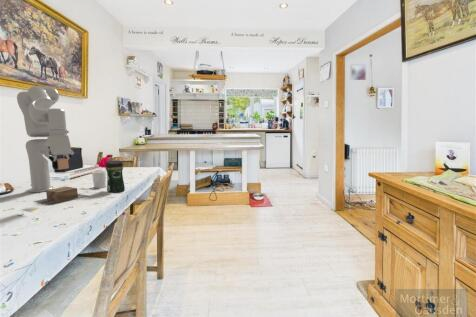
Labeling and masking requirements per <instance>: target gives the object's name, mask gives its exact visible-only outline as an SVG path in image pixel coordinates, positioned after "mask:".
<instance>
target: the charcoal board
mask: <svg viewBox="0 0 476 317" xmlns="http://www.w3.org/2000/svg"><path fill="white" fill-rule="evenodd" d="M87 197H89V195H88V194H87V195H86V194H81V193H78V198H73V199H69V200H65V201H61V202H56V201H51V200H47V198H44V199H43V198H42V199H39V200H34V201H33V203H38V204H42V205H49V206H54V205H55V206H56V205H59V204H63V203H67V202H72V201H74V200H80V199H83V198H87Z"/></svg>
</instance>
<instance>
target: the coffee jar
mask: <svg viewBox="0 0 476 317" xmlns="http://www.w3.org/2000/svg"><path fill="white" fill-rule="evenodd" d="M123 170H124V164H123V161H122V160H110V161H106V162H105V171H106V179H107V180H106V191H107V193H111V194H112V193H120V192H123V191H125V182H124V177H123V175H124V174H123Z"/></svg>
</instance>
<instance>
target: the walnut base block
mask: <svg viewBox="0 0 476 317" xmlns="http://www.w3.org/2000/svg"><path fill="white" fill-rule="evenodd" d="M45 193H46V199H47V200H51V201H56V202H61V201H65V200H69V199H73V198H78V194H79V193H78V188H77V187H71V186H62V187H57V188H54V189H50V190H46V191H45Z"/></svg>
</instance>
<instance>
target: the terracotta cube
mask: <svg viewBox="0 0 476 317" xmlns="http://www.w3.org/2000/svg"><path fill="white" fill-rule="evenodd" d="M56 161H57V164H58V169H57V170H64V169H65V170H66V169H70V162H69V163H68V159H64V157H63V158H56Z"/></svg>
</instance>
